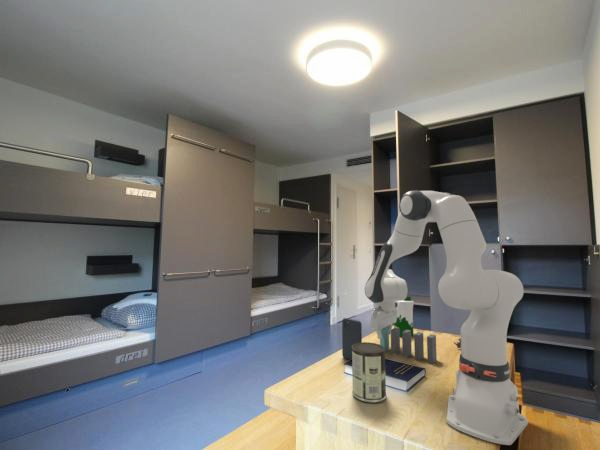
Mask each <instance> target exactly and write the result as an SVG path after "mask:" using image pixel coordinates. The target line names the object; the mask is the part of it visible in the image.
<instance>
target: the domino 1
mask: <svg viewBox="0 0 600 450" xmlns="http://www.w3.org/2000/svg"><path fill="white" fill-rule="evenodd" d="M381 333H382V335H383V338H382V339H379V345H382V346H383V347H385V351H386V352H387V351H389V350H390V335H389V326H387V327H385V328H383V329H382V331H381ZM388 349H389V350H388Z"/></svg>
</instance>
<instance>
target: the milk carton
mask: <svg viewBox="0 0 600 450" xmlns="http://www.w3.org/2000/svg"><path fill="white" fill-rule="evenodd" d="M395 302H397V303H398V307H397V321H396V323H393V325H394V326H393V328H400V338H402V332H403V331H405V330H411V338H412V337H413V338H414V334H415V333H414V316H413V315H414V314H413V313H414V312H413V311H414V300H412V298H411V296H410V295H408V297H407V298H406V299H405V300H401V301H395Z"/></svg>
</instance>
